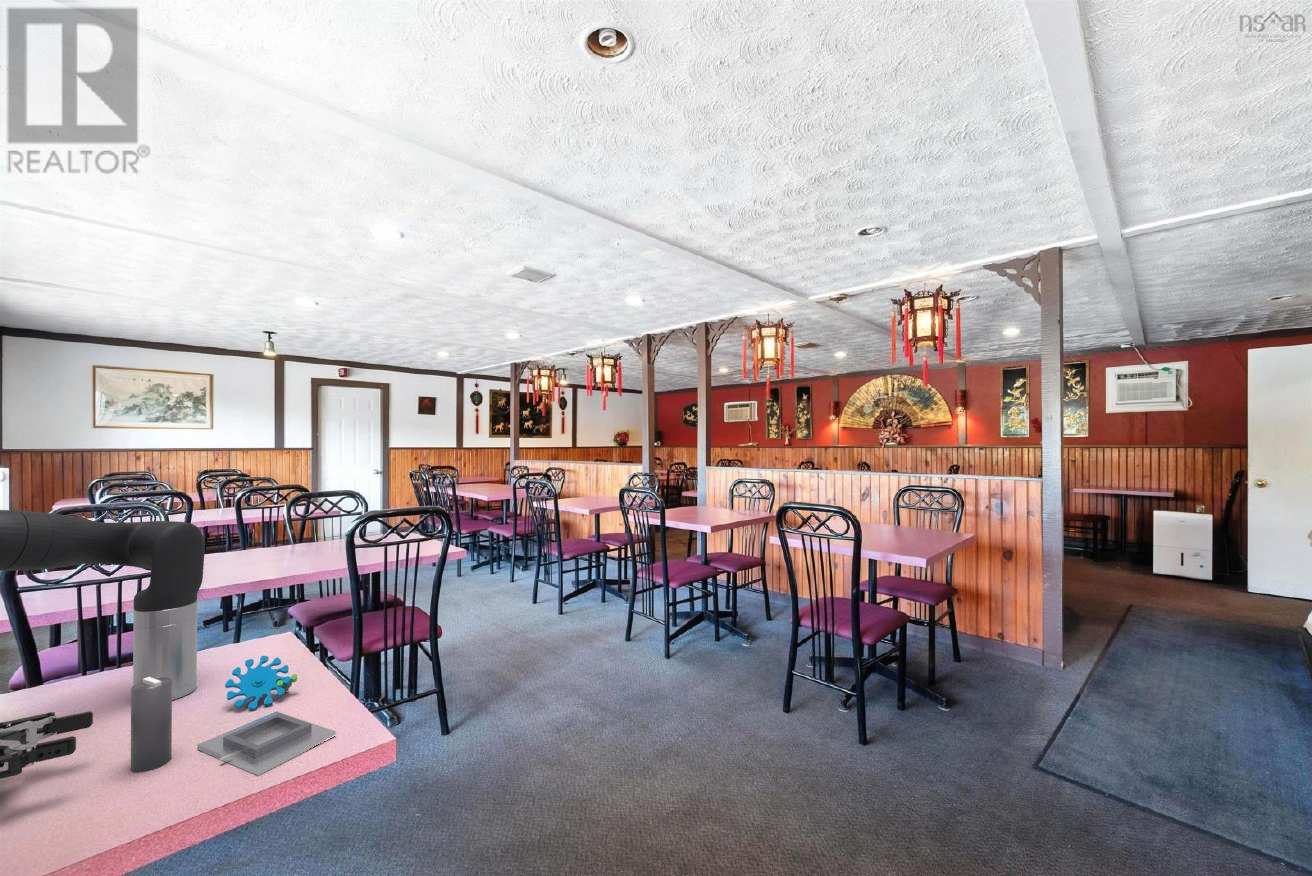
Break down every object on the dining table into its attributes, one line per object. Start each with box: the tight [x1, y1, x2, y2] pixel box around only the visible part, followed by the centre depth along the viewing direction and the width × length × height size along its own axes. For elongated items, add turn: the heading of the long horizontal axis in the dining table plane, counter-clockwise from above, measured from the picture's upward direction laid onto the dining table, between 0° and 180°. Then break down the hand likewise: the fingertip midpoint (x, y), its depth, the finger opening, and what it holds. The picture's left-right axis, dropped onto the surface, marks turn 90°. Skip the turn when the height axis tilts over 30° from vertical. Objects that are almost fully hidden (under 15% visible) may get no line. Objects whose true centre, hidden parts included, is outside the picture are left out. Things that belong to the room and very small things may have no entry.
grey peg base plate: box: [196, 711, 337, 776], centre depth 90 cm, size 16×13×2 cm
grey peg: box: [130, 677, 173, 773], centre depth 84 cm, size 5×5×13 cm
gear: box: [224, 655, 298, 711], centre depth 105 cm, size 11×6×10 cm
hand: (84, 731), depth 80 cm, fingers open, 8 cm apart
